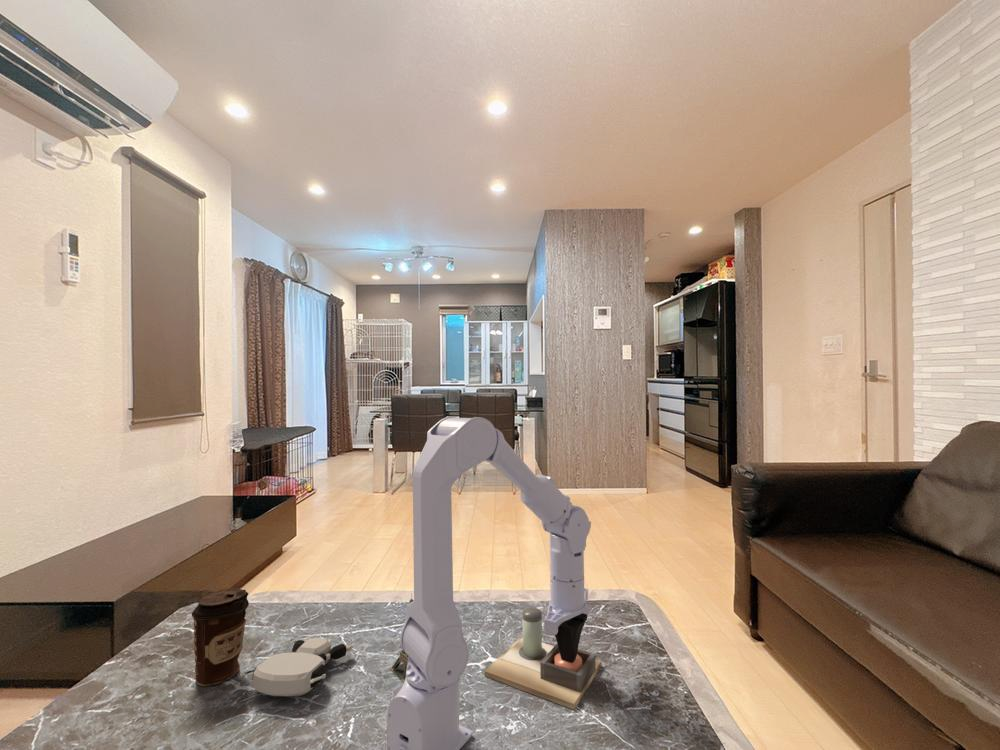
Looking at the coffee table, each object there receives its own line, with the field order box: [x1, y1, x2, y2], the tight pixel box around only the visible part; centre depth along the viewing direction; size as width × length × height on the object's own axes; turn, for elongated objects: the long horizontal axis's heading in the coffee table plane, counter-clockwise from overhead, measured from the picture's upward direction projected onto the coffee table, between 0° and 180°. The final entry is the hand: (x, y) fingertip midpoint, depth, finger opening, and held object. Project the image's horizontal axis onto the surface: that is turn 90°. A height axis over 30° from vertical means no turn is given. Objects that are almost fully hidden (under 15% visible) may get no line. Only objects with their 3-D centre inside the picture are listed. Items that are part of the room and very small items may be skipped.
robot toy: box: [239, 637, 354, 697], centre depth 72 cm, size 12×4×15 cm
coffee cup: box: [191, 587, 250, 687], centre depth 73 cm, size 9×8×13 cm
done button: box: [555, 653, 582, 672], centre depth 72 cm, size 5×5×2 cm
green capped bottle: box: [522, 607, 543, 658], centre depth 78 cm, size 4×4×7 cm
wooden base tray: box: [484, 636, 602, 710], centre depth 74 cm, size 13×16×3 cm
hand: (568, 659), depth 72 cm, fingers closed, pressing on done button
